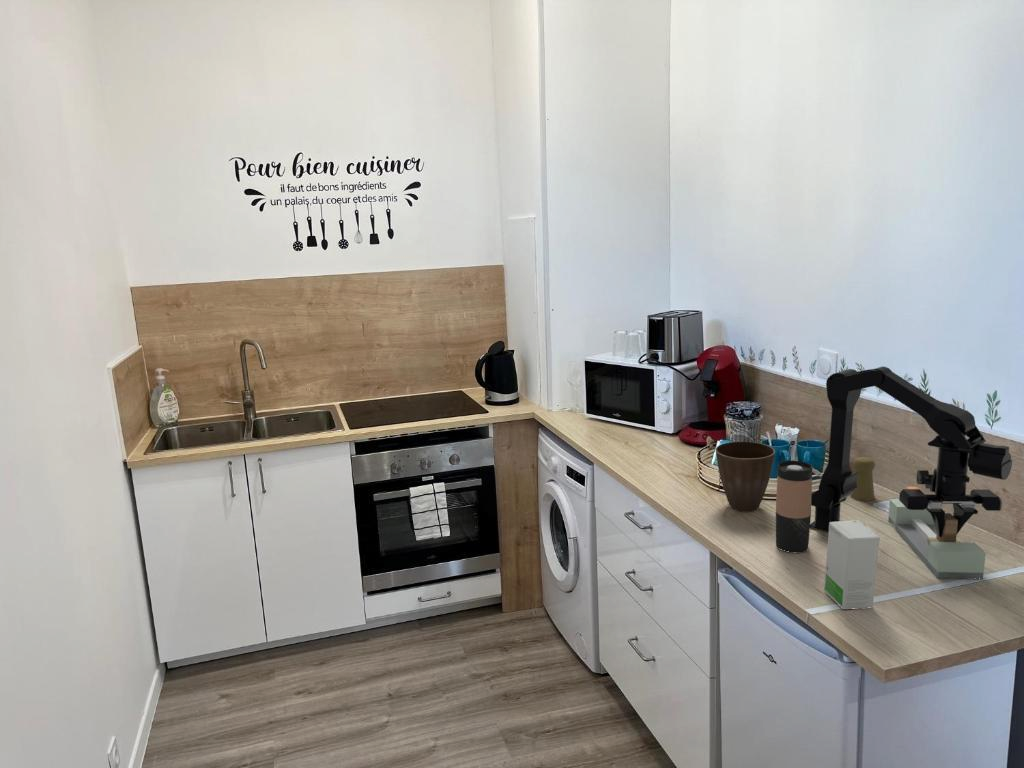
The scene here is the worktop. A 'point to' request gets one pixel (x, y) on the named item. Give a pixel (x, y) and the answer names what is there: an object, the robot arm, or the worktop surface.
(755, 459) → the plant pot
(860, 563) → the skincare box
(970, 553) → the rail bench
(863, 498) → the cork
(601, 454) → the worktop surface
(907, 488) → the orange knob
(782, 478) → the travel mug
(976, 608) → the worktop surface
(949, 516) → the carriage
